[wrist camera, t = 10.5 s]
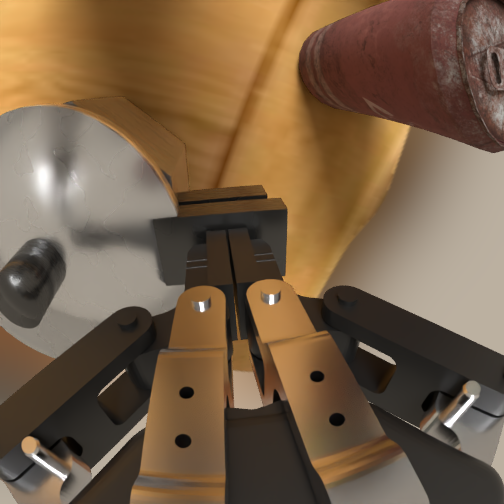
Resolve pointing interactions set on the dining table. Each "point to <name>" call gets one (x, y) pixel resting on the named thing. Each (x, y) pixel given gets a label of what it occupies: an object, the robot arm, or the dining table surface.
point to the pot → (164, 151)
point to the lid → (97, 226)
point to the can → (416, 66)
